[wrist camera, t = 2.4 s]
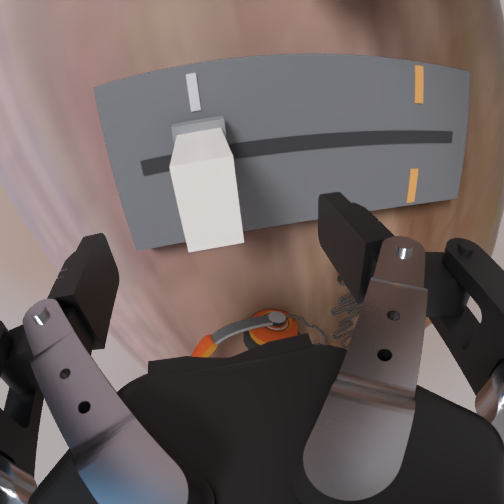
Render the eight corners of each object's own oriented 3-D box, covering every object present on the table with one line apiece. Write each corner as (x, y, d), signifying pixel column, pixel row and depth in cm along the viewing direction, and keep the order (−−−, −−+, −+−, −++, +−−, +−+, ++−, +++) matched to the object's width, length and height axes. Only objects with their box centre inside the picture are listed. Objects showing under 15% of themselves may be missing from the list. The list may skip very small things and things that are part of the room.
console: (102, 85, 17) (93, 87, 15) (454, 68, 19) (470, 71, 18) (140, 237, 24) (136, 251, 22) (444, 189, 26) (457, 199, 24)
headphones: (367, 369, 36) (219, 439, 31) (345, 342, 40) (204, 403, 35) (392, 263, 27) (173, 353, 21) (357, 236, 31) (160, 307, 25)
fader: (172, 124, 17) (160, 156, 11) (222, 115, 17) (238, 142, 12) (186, 198, 20) (185, 262, 14) (232, 190, 20) (250, 251, 14)
